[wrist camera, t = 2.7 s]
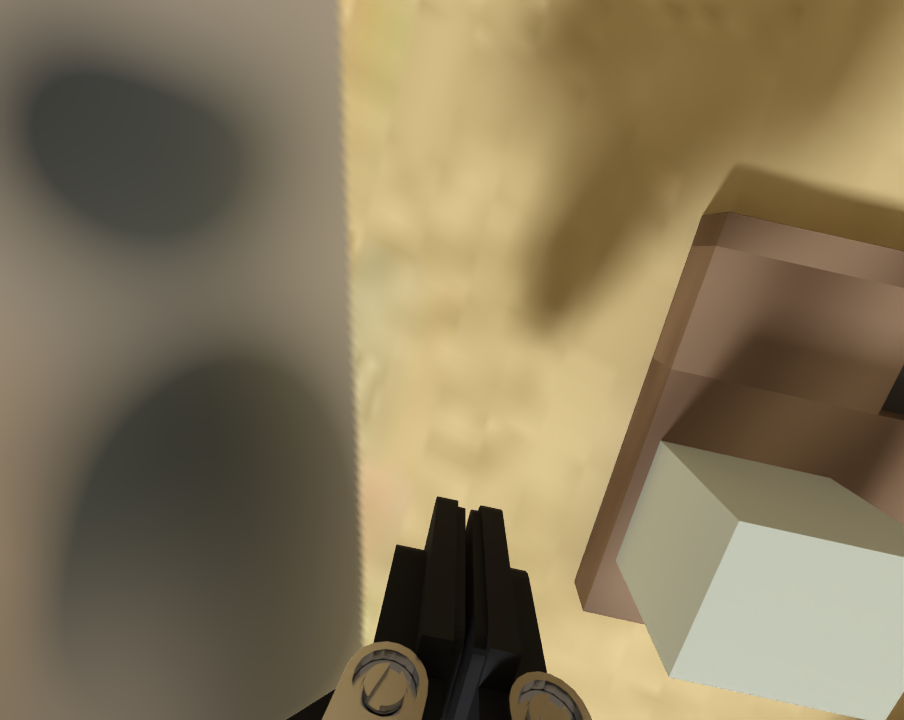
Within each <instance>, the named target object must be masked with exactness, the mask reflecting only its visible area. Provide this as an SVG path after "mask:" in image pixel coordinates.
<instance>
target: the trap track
mask: <svg viewBox="0 0 904 720" xmlns="http://www.w3.org/2000/svg"><path fill="white" fill-rule="evenodd" d="M660 441H665V442H669V443H674V444H679V445H683V446H688V447H692V448H697V449H701V450H706V451H710V452H715V453H719V454H724V455H728V456H733V457H737V458H742V459H746V460H751V461H755V462H760V463H764V464H769V465H774V466H778V467H783V468H787V469H792V470H796V471H801V472H805V473H810V474H814V475H819V476H823V477H828V478H831V479H832V480H834V481H836V482H837V483H839V484H840V485H842V486H843V487H845V488H846V489H848V490H850V491H851V492H853V493H854V494H856V495H857V496H859V497H861V498H862V499H864V500H865V501H867V502H868V503H870V504H871V505H873V506H875V507H876V508H878V509H879V510H881V511H882V512H884V513H885V514H887V515H889V516H890V517H892V518H893V519H895V520H896V521H898V522H899V523H901V524H903V525H904V251H900V250H895V249H891V248H886V247H882V246H878V245H873V244H869V243H864V242H860V241H855V240H851V239H846V238H842V237H838V236H833V235H829V234H824V233H820V232H815V231H811V230H806V229H802V228H798V227H793V226H789V225H784V224H780V223H775V222H771V221H766V220H762V219H758V218H753V217H749V216H744V215H740V214H735V213H731V212H724V213H718V214H711V215H704V216H702V218H701V221H700V224H699V227H698V230H697V233H696V236H695V238H694V241H693V244H692V247H691V250H690V253H689V256H688V258H687V261H686V264H685V267H684V270H683V273H682V276H681V278H680V281H679V284H678V287H677V290H676V293H675V296H674V298H673V301H672V304H671V307H670V310H669V313H668V316H667V319H666V321H665V324H664V327H663V330H662V333H661V336H660V339H659V341H658V344H657V347H656V350H655V353H654V356H653V359H652V361H651V364H650V367H649V370H648V373H647V376H646V379H645V381H644V384H643V387H642V390H641V393H640V396H639V399H638V401H637V404H636V407H635V410H634V413H633V416H632V419H631V422H630V424H629V427H628V430H627V433H626V436H625V439H624V442H623V444H622V447H621V450H620V453H619V456H618V459H617V462H616V464H615V467H614V470H613V473H612V476H611V479H610V482H609V484H608V487H607V490H606V493H605V496H604V499H603V502H602V504H601V507H600V510H599V513H598V516H597V519H596V522H595V525H594V527H593V530H592V533H591V536H590V539H589V542H588V545H587V547H586V550H585V553H584V556H583V559H582V562H581V565H580V567H579V570H578V573H577V576H576V579H575V585H576V589H577V592H578V595H579V599H580V602H581V605H582V609H583V611H586V612H590V613H595V614H599V615H604V616H608V617H613V618H618V619H622V620H627V621H631V622H636V623H641V624H644V622H643V619H642V617H641V615H640V613H639V611H638V608H637V606H636V604H635V602H634V600H633V598H632V595H631V593H630V591H629V589H628V587H627V584H626V582H625V580H624V578H623V576H622V573H621V571H620V569H619V567H618V565H617V562H616V558H617V556H618V553H619V550H620V548H621V545H622V542H623V540H624V537H625V534H626V532H627V529H628V526H629V524H630V521H631V518H632V516H633V513H634V510H635V508H636V505H637V502H638V499H639V497H640V494H641V491H642V489H643V486H644V483H645V481H646V478H647V475H648V473H649V470H650V467H651V465H652V462H653V459H654V457H655V454H656V451H657V449H658V446H659V443H660Z"/></svg>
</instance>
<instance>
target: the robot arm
mask: <svg viewBox="0 0 904 720" xmlns="http://www.w3.org/2000/svg"><path fill="white" fill-rule="evenodd" d="M287 720H592V719H591V716H590V714H589V712H588V710H587V708H586V706H585V704H584V702H583V701H582V699H581V698H580V697H579V696H578V694H577V693H576V692H575V691H574V690H573V689H572V688H571V687H570V686H569V685H567V684H566V683H565V682H564V681H563V680H561V679H559V678H557V677H555V676H553V675H551V674H548V673H547V670H546V665H545V660H544V655H543V649H542V644H541V639H540V634H539V628H538V623H537V618H536V613H535V607H534V602H533V597H532V592H531V586H530V581H529V577H528V573H527V572H526V571H523V570H518V569H513V568H510V563H509V555H508V548H507V541H506V534H505V526H504V519H503V512H502V510H500V509H495V508H491V507H486V506H480V507H479V509H478V511H476V510H471V511H470V515H469V518H468V522H467V526H466V530H465V508H461V507H458V501H457V500H452V499H447V498H443V497H438V496H437V498H436V502H435V506H434V511H433V515H432V519H431V523H430V528H429V532H428V536H427V540H426V545H425V549H424V550H421V549H416V548H411V547H406V546H401V545H396V549H395V553H394V557H393V562H392V566H391V570H390V574H389V579H388V583H387V587H386V592H385V596H384V600H383V605H382V609H381V613H380V617H379V622H378V626H377V630H376V635H375V639H374V643H372V644H370V645H367V646H365V647H363V648H362V649H360V650H359V651H358V652H357V653H356V654H355V655H353V657H352V658H351V660H350V661H349V663H348V664H347V666H346V668H345V670H344V672H343V674H342V677H341V679H340V681H339V683H338V685H337V688H336V689H335V690H333V691H332V692H330V693H328V694H327V695H325V696H324V697H322V698H320V699H319V700H317V701H316V702H314V703H312V704H311V705H309V706H308V707H306V708H305V709H303V710H301V711H300V712H298V713H297V714H295V715H293V716H292V717H290V718H289V719H287Z"/></svg>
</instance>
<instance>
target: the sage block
mask: <svg viewBox="0 0 904 720" xmlns="http://www.w3.org/2000/svg"><path fill="white" fill-rule="evenodd" d="M616 562H617V565H618V567H619V569H620V571H621V573H622V576H623V578H624V580H625V582H626V584H627V587H628V589H629V591H630V593H631V595H632V598H633V600H634V602H635V604H636V606H637V608H638V611H639V613H640V615H641V617H642V619H643V622H644V624H645V626H646V628H647V630H648V633H649V635H650V637H651V639H652V641H653V644H654V646H655V648H656V650H657V652H658V655H659V657H660V659H661V661H662V663H663V665H664V668H665V670H666V672H667V674H668V676H669V677H670V678H675V679H680V680H684V681H689V682H693V683H698V684H703V685H707V686H712V687H716V688H721V689H726V690H730V691H735V692H739V693H744V694H749V695H753V696H758V697H762V698H767V699H772V700H776V701H781V702H785V703H790V704H795V705H799V706H804V707H808V708H813V709H818V710H822V711H827V712H831V713H836V714H841V715H845V716H850V717H854V718H859V719H864V720H886V719H887V717H888V715H889V714H890V712H891V711H892V709H893V708H894V706H895V705H896V703H897V701H898V700H899V698H900V697H901V695H902V694H903V692H904V525H903V524H901V523H899V522H898V521H896V520H895V519H893V518H892V517H890V516H889V515H887V514H885V513H884V512H882V511H881V510H879V509H878V508H876V507H875V506H873V505H871V504H870V503H868V502H867V501H865V500H864V499H862V498H861V497H859V496H857V495H856V494H854V493H853V492H851V491H850V490H848V489H846V488H845V487H843V486H842V485H840V484H839V483H837V482H836V481H834V480H832V479H831V478H828V477H823V476H819V475H814V474H810V473H805V472H801V471H796V470H792V469H787V468H783V467H778V466H774V465H769V464H764V463H760V462H755V461H751V460H746V459H742V458H737V457H733V456H728V455H724V454H719V453H715V452H710V451H706V450H701V449H697V448H692V447H688V446H683V445H679V444H674V443H669V442H665V441H660V443H659V446H658V449H657V451H656V454H655V457H654V459H653V462H652V465H651V467H650V470H649V473H648V475H647V478H646V481H645V483H644V486H643V489H642V491H641V494H640V497H639V499H638V502H637V505H636V508H635V510H634V513H633V516H632V518H631V521H630V524H629V526H628V529H627V532H626V534H625V537H624V540H623V542H622V545H621V548H620V550H619V553H618V556H617V558H616Z"/></svg>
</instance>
